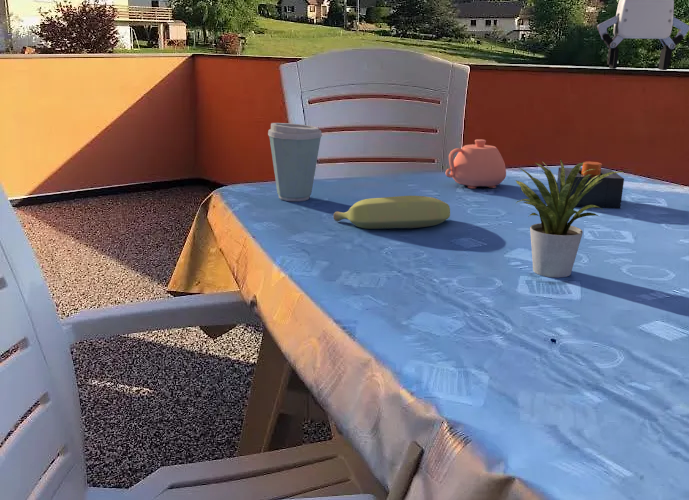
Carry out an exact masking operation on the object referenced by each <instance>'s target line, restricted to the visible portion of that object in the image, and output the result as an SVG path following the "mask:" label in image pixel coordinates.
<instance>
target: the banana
mask: <svg viewBox="0 0 689 500" xmlns="http://www.w3.org/2000/svg"><path fill="white" fill-rule="evenodd" d="M332 216H333V217H332V218H333V220H334V221H335V222H340V221H343V220H349V222H351V224H353V225H354V226H355V227H357V228H361V229H366V230H368V229H369V230H373V229H374V230H375V229H376V230H377V229H379V230H380V229H418V228H426V227H433V226H437V225H439V224H442V223H444V222H445V221H447V220H448V219H450V217H451V207H450V205H449V204H448V203H447V202H445V201H443V200H441V199H438V198H436V197H432V196H423V195H397V196H387V197H386V196H384V197H372V198H371V197H370V198H364V199H361V200H358V201H356V202H355V203H353V205H351V207H349V209H348V210H347V211H345V212H342V211H337V210H336V211H335V212H334V213H333V215H332Z"/></svg>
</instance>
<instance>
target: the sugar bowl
mask: <svg viewBox="0 0 689 500" xmlns="http://www.w3.org/2000/svg"><path fill="white" fill-rule="evenodd" d="M486 143H487V140H486V139H480V138H478V139H475V140H474V144H473V143H472V144H465V145H463V146H462V147H461V148H460V147H456V148H454V149H452V150H450V152H449V153H448V164H449V168H447V169H446V170H445V176H446V177H447V178H449V179H453V180H454V182H455V183H457V184H459V185H464V186H467V188H468V189H473V190H474V189H478V188H477V187H487V188H492V189H495V188H497V186H499V185H501V183H502V182H504V181H505V179H506V177H507V167H506V164H505V161H504V158H503V156H502V154H501V152H500V151H499V149H498V147H496V145H495V146H494V145H489V144H486ZM456 153H457V154H456ZM455 154H456V156H455V158H454V155H455Z"/></svg>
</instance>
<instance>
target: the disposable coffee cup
mask: <svg viewBox="0 0 689 500" xmlns="http://www.w3.org/2000/svg"><path fill="white" fill-rule="evenodd" d="M267 136H268V139H269V144H270V151H271V158H272V159H271V160H272V165H273V172H274V179H275V187H276V192H277V195H278V199H280V200H281V201H285V202H294V203H295V202H305V201H308V200H309V199H310V198H311V196H312V193H313V187H314V180H315V176H316V175H315V174H316V168H317V163H318V158H319V157H318V156H319V152H320V151H319V150H320V145H321V139H322V137H323V133H322V130H321V129H320V127H318V126H314V125H310V124H300V123H288V122H271V123H270V129H268V131H267Z"/></svg>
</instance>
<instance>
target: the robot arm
mask: <svg viewBox="0 0 689 500" xmlns="http://www.w3.org/2000/svg"><path fill="white" fill-rule="evenodd" d="M674 8H675V0H618V3H617V9H616V13H615V16H613V17H611V18H609V19H607V20H604V21H603V22H600V23H599V24H597V25H596V29H597V31H598V34H599V35H600V39H601V41H602V42H603V43H604V44H605V45H606V47H607V48H608V51H607V59H606V64H607V66H608V68H609V69H610V70H616V69H617V67H618V61H619V52H620V49H619V48H618V46H619V44H621V42H622V41H623V40H624V39H634V40H635V39H638V40H639V39H642V40H643V39H644V40H645V39H646V40H659V41H660V43H661V45H662V46H663V48H661V50H660V53H659V54H660V56H659V62H658V70H659V71H667V70H668V67H669V66H671V60H672V55H673V50H674V49H676V47H677V46H678V45H679V44H680V43H682V41H683V40H684V38H685V37H686V35H687V34H688V32H689V24H687V23H686V22H683V21H682V20H680V19H679V18H676V17H675V16H674V11H675V9H674ZM611 26H613V37H611V36H610V34H609V33H608V29H609V28H610V27H611ZM673 27H675V28H676V29H678V32H677V34H676V35H674V37H671V34H672V30H673Z"/></svg>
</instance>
